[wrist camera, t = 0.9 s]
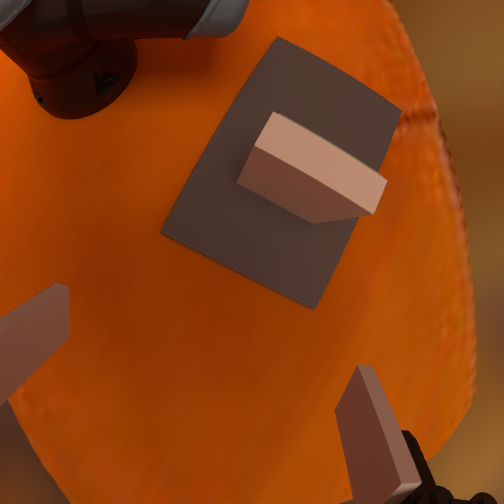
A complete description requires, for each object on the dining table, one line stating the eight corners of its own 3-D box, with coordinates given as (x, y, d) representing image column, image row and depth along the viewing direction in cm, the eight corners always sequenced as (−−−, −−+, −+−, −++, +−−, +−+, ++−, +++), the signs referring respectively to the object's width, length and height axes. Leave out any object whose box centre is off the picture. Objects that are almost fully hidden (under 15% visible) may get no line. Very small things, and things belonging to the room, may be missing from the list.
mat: (311, 308, 39) (314, 310, 38) (161, 232, 37) (160, 232, 36) (398, 113, 40) (402, 110, 39) (275, 39, 37) (277, 36, 36)
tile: (312, 224, 38) (373, 214, 23) (236, 182, 36) (254, 145, 22) (323, 199, 38) (388, 177, 23) (249, 158, 37) (274, 108, 22)
